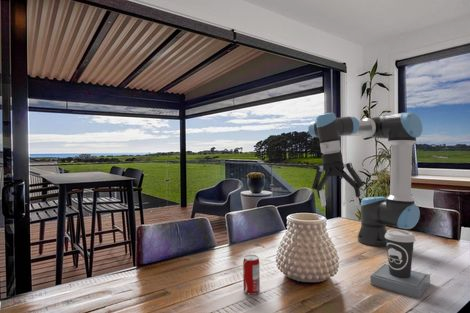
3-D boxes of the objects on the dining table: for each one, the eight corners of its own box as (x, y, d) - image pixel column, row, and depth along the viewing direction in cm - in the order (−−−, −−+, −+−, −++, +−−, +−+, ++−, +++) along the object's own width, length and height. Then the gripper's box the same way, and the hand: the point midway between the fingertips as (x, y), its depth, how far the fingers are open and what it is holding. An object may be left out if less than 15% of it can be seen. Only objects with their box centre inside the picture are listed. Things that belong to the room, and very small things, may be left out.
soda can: (243, 287, 103) (243, 253, 103) (259, 287, 103) (258, 253, 102) (243, 295, 97) (243, 259, 97) (260, 295, 97) (259, 259, 97)
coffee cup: (420, 281, 98) (420, 236, 98) (389, 279, 100) (389, 235, 100) (409, 269, 108) (409, 229, 108) (381, 268, 110) (381, 228, 109)
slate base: (384, 271, 115) (384, 263, 115) (430, 283, 104) (430, 274, 104) (370, 284, 104) (370, 275, 104) (419, 298, 94) (419, 288, 93)
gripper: (298, 157, 122) (307, 207, 122) (359, 149, 105) (369, 207, 105) (307, 155, 127) (315, 203, 127) (367, 147, 110) (376, 203, 110)
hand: (339, 205), depth 116 cm, fingers open, 13 cm apart
